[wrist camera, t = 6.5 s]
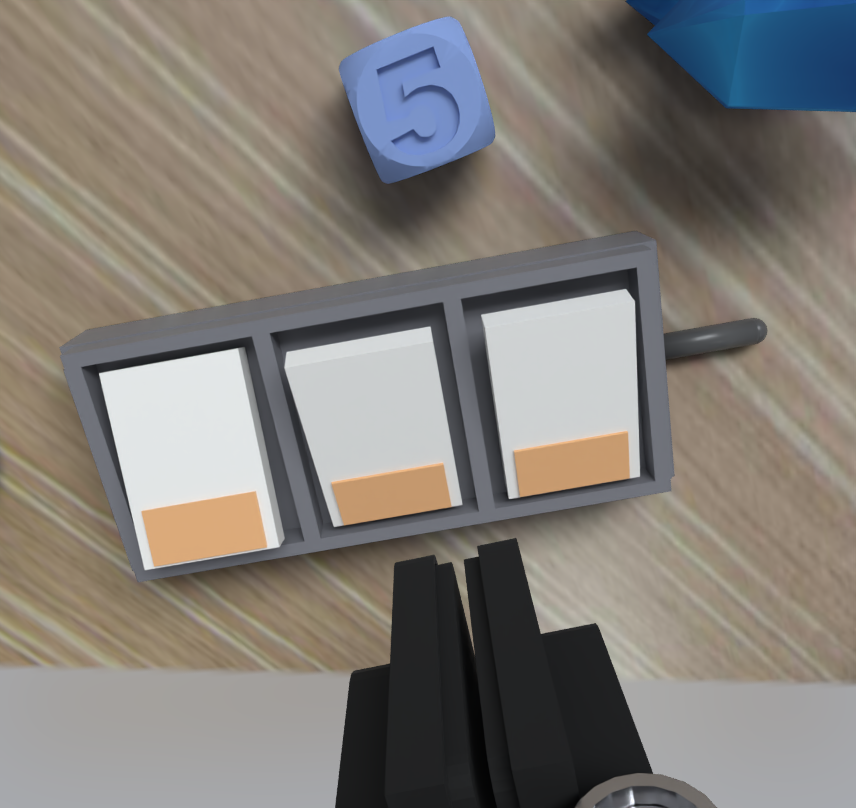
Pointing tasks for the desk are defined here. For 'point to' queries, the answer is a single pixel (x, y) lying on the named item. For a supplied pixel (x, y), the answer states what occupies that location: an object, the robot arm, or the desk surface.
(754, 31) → the crystal
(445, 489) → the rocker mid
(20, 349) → the desk surface
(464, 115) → the decorative dice
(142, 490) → the rocker
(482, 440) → the strip
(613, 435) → the rocker
